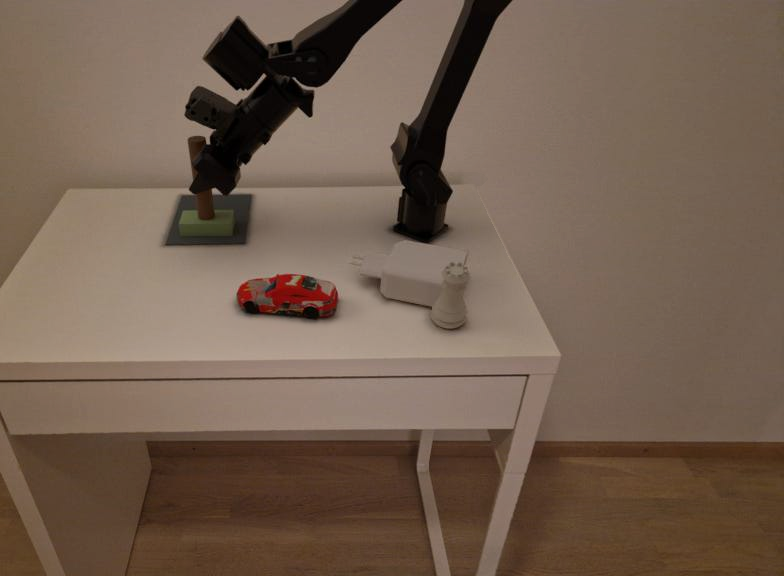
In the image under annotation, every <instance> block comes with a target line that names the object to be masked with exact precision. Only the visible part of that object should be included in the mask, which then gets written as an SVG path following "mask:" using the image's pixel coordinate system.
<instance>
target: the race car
mask: <svg viewBox="0 0 784 576" xmlns="http://www.w3.org/2000/svg"><path fill="white" fill-rule="evenodd" d="M236 300H237V304H238V305H239V307H240V308H241V309H242V310H243V309H244V310H245V311H246V313H249V314H256V313H258V311H259V312H260V313H270V314H279V315H280V314H281V315H291V316H303V315H304V316H305V317H306V318H307V319H310V320H314V319H316V318H318V316H319V317H327V316H330V315H332V314H334V313H335V312H336V311H337V307H338V302H339V292H338V290H337V286H336V284H334V283H333V282H331V281H329V280H328V281H327V280H324V279H321V278H318V277H315V276H309V275H305V274H298V273H297V274H295V273H283V274H280V273H277V274H276V275H275V276H272V277H258V278H252V279H248V280H247V281H245V282H243V283H242V284H240V286H239V287H238V290H237V291H236Z"/></svg>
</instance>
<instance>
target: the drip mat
mask: <svg viewBox="0 0 784 576" xmlns="http://www.w3.org/2000/svg"><path fill="white" fill-rule="evenodd" d="M212 195H213V203H214V210H234V220H235V223H234V229H233V235H232V236H186V237H181V235H180V229H179V221H180V218H181V215H182V212H183V211H186V210H197V205H196V198H195V194H182V195H181V197H180V199H179V200H180V201H179V204H178V206H177V209H176V211H175V214H174V218H173V221H172V223H171V225H170V229H169V232H168V235H167V237H166V241H165V244H164V245H165V246H199V245H203V246H204V245H245V244H246V243H245V242H246V238H247V237H246V235H247V229H248V222H249V216H250V215H249V214H250V207H251V199H252V194H251V193H249V194H242V193H241V194H229V195H228V196H225V195H223V194H212Z"/></svg>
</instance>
